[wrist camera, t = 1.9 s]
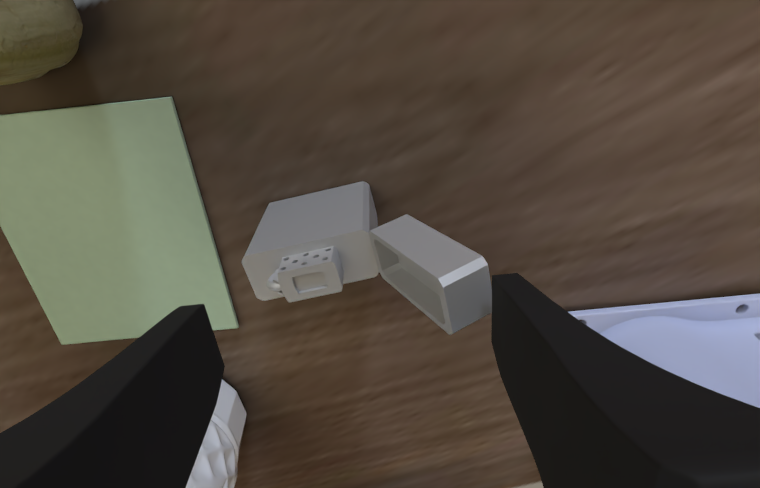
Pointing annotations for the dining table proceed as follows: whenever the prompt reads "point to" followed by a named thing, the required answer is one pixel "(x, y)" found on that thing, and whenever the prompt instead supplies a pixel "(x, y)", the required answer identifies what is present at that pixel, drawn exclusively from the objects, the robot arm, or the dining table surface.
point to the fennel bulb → (36, 37)
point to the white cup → (220, 443)
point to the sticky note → (109, 219)
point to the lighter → (364, 256)
